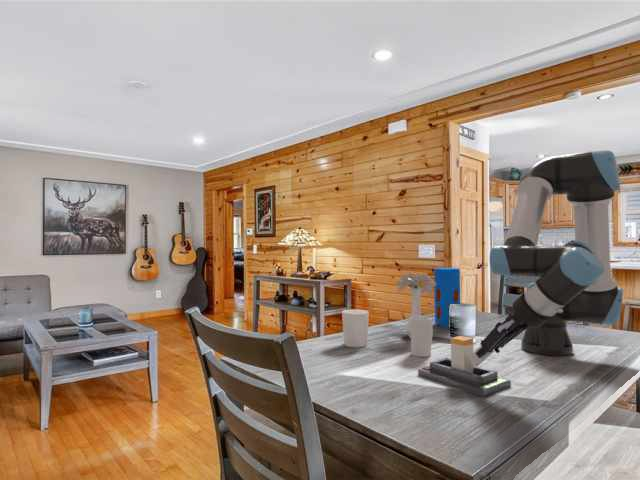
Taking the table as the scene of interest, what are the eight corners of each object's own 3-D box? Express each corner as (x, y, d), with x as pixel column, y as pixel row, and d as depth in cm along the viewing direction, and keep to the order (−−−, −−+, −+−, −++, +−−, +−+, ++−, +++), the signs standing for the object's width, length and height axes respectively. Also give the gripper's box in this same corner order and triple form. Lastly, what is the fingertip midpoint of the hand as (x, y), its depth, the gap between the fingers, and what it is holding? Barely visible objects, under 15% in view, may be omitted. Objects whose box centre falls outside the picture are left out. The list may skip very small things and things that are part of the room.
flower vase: (440, 333, 162) (439, 271, 162) (424, 343, 146) (423, 274, 146) (409, 330, 169) (408, 270, 169) (390, 339, 154) (390, 273, 154)
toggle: (451, 373, 108) (450, 337, 108) (460, 370, 111) (460, 335, 111) (464, 377, 105) (463, 340, 105) (473, 373, 107) (473, 338, 107)
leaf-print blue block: (447, 329, 170) (446, 269, 170) (429, 324, 180) (428, 268, 180) (466, 326, 175) (465, 268, 175) (447, 322, 185) (447, 267, 185)
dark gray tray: (418, 374, 112) (418, 362, 112) (445, 366, 119) (445, 354, 119) (483, 396, 96) (483, 382, 96) (510, 385, 103) (510, 372, 103)
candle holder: (338, 346, 144) (338, 313, 144) (347, 340, 153) (346, 308, 153) (365, 349, 140) (364, 314, 140) (372, 342, 149) (371, 310, 149)
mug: (423, 358, 128) (423, 320, 128) (406, 354, 133) (405, 318, 133) (441, 352, 134) (440, 316, 134) (424, 349, 139) (423, 314, 139)
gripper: (535, 321, 85) (467, 380, 99) (563, 314, 93) (496, 369, 106) (510, 294, 90) (448, 353, 103) (539, 289, 97) (478, 345, 111)
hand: (472, 361), depth 105 cm, fingers closed
